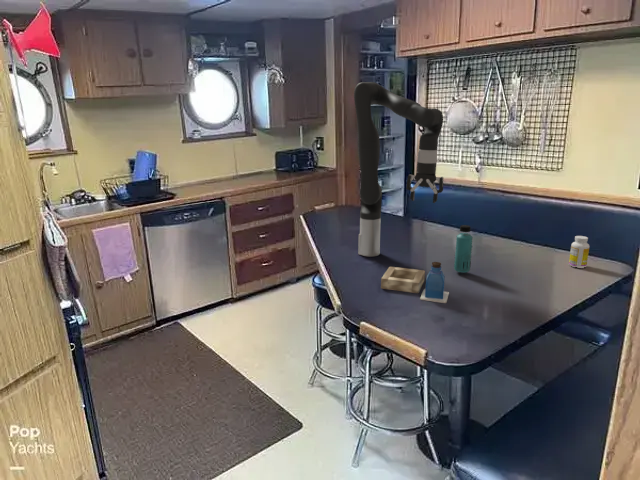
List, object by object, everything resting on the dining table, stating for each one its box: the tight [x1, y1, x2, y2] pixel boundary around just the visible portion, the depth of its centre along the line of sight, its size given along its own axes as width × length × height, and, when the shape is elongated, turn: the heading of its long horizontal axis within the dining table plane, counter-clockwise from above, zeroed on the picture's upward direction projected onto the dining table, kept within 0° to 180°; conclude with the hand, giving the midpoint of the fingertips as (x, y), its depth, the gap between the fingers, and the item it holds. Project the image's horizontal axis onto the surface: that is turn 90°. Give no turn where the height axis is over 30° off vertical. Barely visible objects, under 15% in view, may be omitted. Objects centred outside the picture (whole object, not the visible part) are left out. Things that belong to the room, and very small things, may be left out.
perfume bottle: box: [425, 261, 446, 299], centre depth 164 cm, size 6×6×12 cm
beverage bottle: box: [453, 224, 473, 273], centre depth 186 cm, size 6×7×20 cm
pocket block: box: [380, 266, 426, 294], centre depth 177 cm, size 14×14×4 cm
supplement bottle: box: [568, 235, 590, 267], centre depth 194 cm, size 7×7×13 cm
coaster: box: [419, 288, 450, 304], centre depth 166 cm, size 9×9×1 cm
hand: (423, 201), depth 187 cm, fingers open, 8 cm apart
